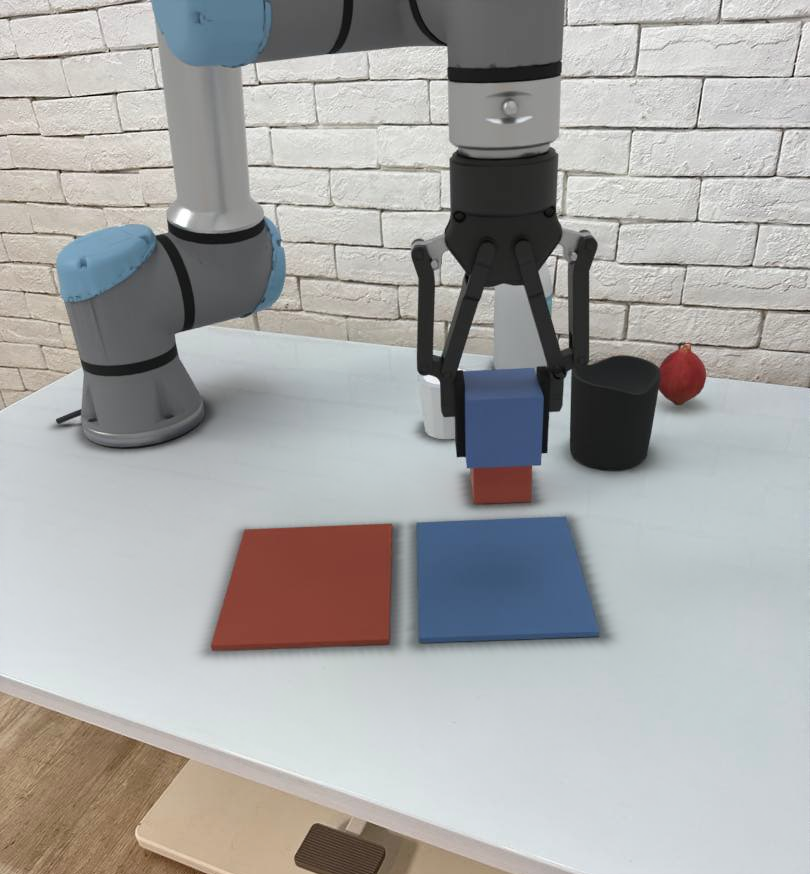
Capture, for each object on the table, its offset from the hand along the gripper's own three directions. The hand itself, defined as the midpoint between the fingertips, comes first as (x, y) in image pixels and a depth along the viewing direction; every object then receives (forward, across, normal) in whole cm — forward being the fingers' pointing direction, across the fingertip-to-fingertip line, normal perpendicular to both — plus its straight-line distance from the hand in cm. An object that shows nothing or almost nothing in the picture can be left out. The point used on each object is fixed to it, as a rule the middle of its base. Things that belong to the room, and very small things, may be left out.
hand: (500, 447), depth 71 cm
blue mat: (+13, 0, 0) cm, 13 cm away
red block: (+13, +2, +16) cm, 21 cm away
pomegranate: (+13, +26, +35) cm, 45 cm away
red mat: (+13, -18, 0) cm, 22 cm away
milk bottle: (+13, +8, +49) cm, 51 cm away
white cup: (+13, -4, +31) cm, 34 cm away
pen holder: (+13, +14, +23) cm, 30 cm away
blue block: (0, 0, 0) cm, 0 cm away
